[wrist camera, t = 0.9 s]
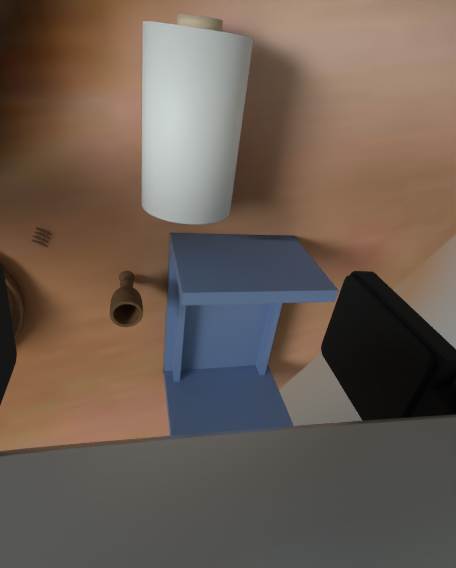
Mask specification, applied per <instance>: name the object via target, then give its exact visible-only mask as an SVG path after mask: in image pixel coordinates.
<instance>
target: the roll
mask: <svg viewBox="0 0 456 568" xmlns="http://www.w3.org/2000/svg"><path fill="white" fill-rule="evenodd" d="M222 22H223V21H222V20H219V19H214V18H209V17H203V16H196V15H189V14H177V25H174V24H167V23H159V22H150V21H143V74H142V207H143V209H144V210H145V211H146V212H147V213H149V214H151V215H152V216H155V217H157V218H160V219H163V220H166V221H170V222H175V223H182V224H209V223H214V222H218V221H221V220H223V219H225V218H227V217H228V216H229V214H230V209H231V202H232V194H233V187H234V179H235V172H236V164H237V157H238V150H239V142H240V135H241V127H242V120H243V113H244V105H245V98H246V90H247V83H248V76H249V68H250V61H251V53H252V46H253V39H254V38H253V37H249V36H244V35H238V34H232V33H227V32H222Z"/></svg>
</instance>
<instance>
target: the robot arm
mask: <svg viewBox="0 0 456 568" xmlns="http://www.w3.org/2000/svg"><path fill="white" fill-rule="evenodd" d="M321 350H322V355H323V357H324V358H325V360H326V362H327V363H328V365H329V366H330V368H331V370H332V371H333V373H334V375H335V376H336V378H337V379H338V381H339V383H340V385H341V386H342V388H343V389H344V391H345V393H346V394H347V396H348V398H349V399H350V401H351V403H352V404H353V406H354V407H355V409H356V411H357V412H358V414H359V416H360V417H361V419H362V420H363V421H353V422H339V423H325V424H313V425H300V426H287V427H274V428H261V429H248V430H236V431H223V432H211V433H198V434H186V435H174V436H163V437H151V438H139V439H127V440H115V441H103V442H91V443H80V444H69V445H58V446H47V447H36V448H26V449H16V450H7V451H0V568H456V349H455V348H454V347H453V346H451V345H450V344H449V343H448V342H447V341H446V340H445V339H444V338H443V337H442V336H441V335H440V334H439V333H438V332H437V331H436V330H434V329H433V328H432V327H431V326H430V325H429V324H428V323H427V322H426V321H425V320H424V319H423V318H422V317H421V316H419V314H418V313H416V312H415V311H414V310H413V309H412V308H411V307H410V306H409V305H408V304H407V303H406V302H405V301H404V300H403V299H402V298H401V297H400V296H398V295H397V294H396V293H395V292H394V291H393V290H392V289H391V288H390V287H389V286H388V285H387V284H386V283H385V282H384V281H383V280H382V279H380V278H379V277H378V276H377V275H376V274H375V273H374V272H367V271H354V272H352V273H351V274H350V276H347V277H346V278H345V280H344V283H343V285H342V288H341V291H340V294H339V297H338V300H337V302H336V305H335V308H334V311H333V314H332V317H331V319H330V322H329V325H328V328H327V331H326V334H325V336H324V339H323V342H322V346H321ZM16 356H17V352H16V344H15V338H14V332H13V326H12V319H11V313H10V307H9V300H8V294H7V288H6V282H5V275H4V270H3V267H2V265H1V264H0V404H1V402H2V399H3V396H4V393H5V391H6V388H7V385H8V383H9V380H10V377H11V374H12V372H13V369H14V366H15V363H16Z"/></svg>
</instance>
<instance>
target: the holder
mask: <svg viewBox="0 0 456 568" xmlns="http://www.w3.org/2000/svg"><path fill="white" fill-rule="evenodd" d="M337 293H338V289H337V288H336V287H335V286H334V284H333V283H332V282H331V281H330V280H329V278H328V277H327V276H326V275H325V273H324V272H323V271H322V270H321V268H320V267H319V266H318V265H317V264H316V262H315V261H314V260H313V259H312V257H311V256H310V255H309V254H308V252H307V251H306V250H305V249H304V248H303V246H302V245H301V244H300V243H299V241H298V240H297V239H296V238H295V237H294V236H278V235H233V234H188V233H170V247H169V267H168V288H167V308H166V328H165V348H164V368H163V373H164V382H165V392H166V401H167V411H168V420H169V430H170V436H174V435H186V434H198V433H211V432H223V431H236V430H248V429H261V428H274V427H287V426H293V423H292V421H291V418H290V416H289V414H288V411H287V409H286V406H285V404H284V402H283V400H282V397H281V395H280V392H279V390H278V387H277V385H276V383H275V380H274V378H273V376H272V373H271V371H270V368H269V366H268V362H269V357H270V353H271V349H272V345H273V341H274V337H275V333H276V329H277V325H278V321H279V316H280V312H281V308H282V304H283V303H303V302H335V299H336V296H337Z"/></svg>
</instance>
